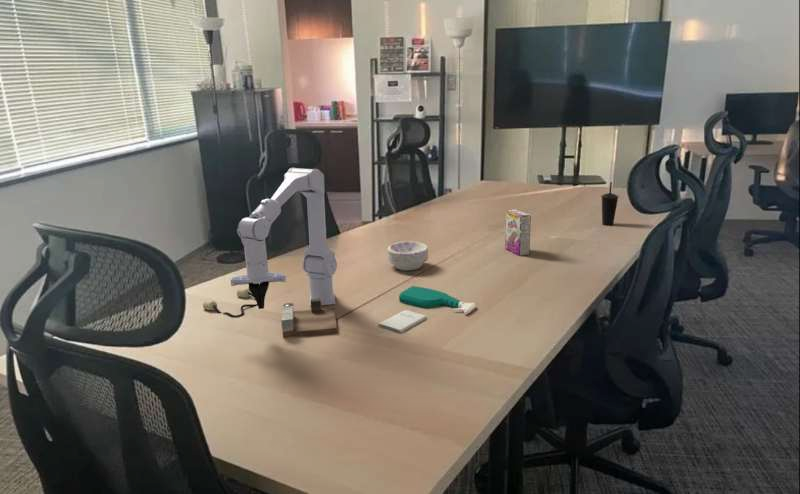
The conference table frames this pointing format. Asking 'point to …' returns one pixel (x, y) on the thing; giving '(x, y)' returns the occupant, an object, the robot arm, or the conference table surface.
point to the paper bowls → (407, 255)
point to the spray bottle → (433, 299)
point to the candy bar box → (518, 232)
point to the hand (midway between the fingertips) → (261, 307)
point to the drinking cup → (609, 207)
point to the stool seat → (313, 321)
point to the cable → (241, 293)
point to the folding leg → (288, 317)
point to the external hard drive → (402, 321)
